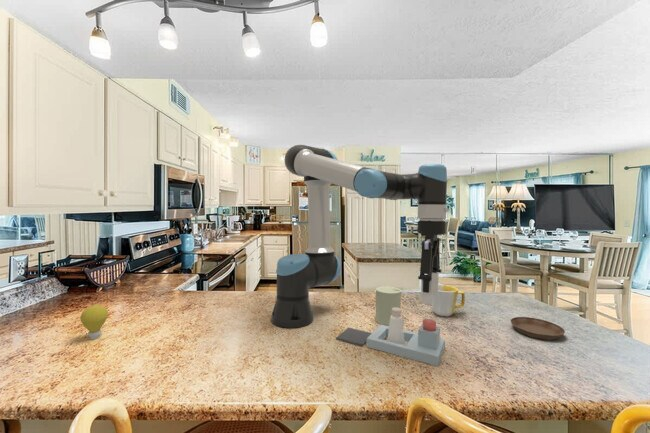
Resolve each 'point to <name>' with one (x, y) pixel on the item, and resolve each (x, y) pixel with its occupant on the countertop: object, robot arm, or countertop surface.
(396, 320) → the pepper shaker
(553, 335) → the saucer
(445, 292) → the mug
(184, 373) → the countertop surface
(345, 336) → the mat
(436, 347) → the frame
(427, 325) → the plunger
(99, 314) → the light bulb
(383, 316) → the can
